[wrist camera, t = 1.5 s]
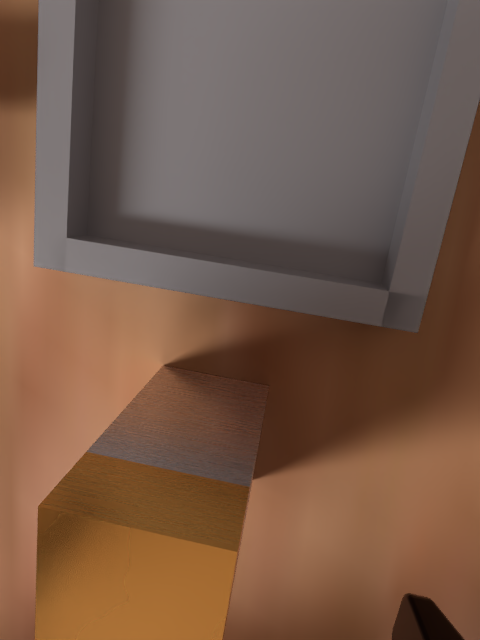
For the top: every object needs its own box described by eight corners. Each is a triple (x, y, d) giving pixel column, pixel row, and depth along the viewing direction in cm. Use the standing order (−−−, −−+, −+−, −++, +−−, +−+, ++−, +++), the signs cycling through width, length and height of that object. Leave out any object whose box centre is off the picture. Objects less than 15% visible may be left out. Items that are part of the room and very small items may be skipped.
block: (252, 480, 13) (210, 705, 7) (153, 458, 13) (34, 658, 7) (269, 385, 12) (237, 552, 6) (162, 365, 12) (38, 506, 6)
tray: (403, 317, 11) (417, 332, 10) (64, 259, 12) (34, 266, 10) (549, -257, 8) (598, -350, 7) (84, -278, 9) (45, -364, 8)
